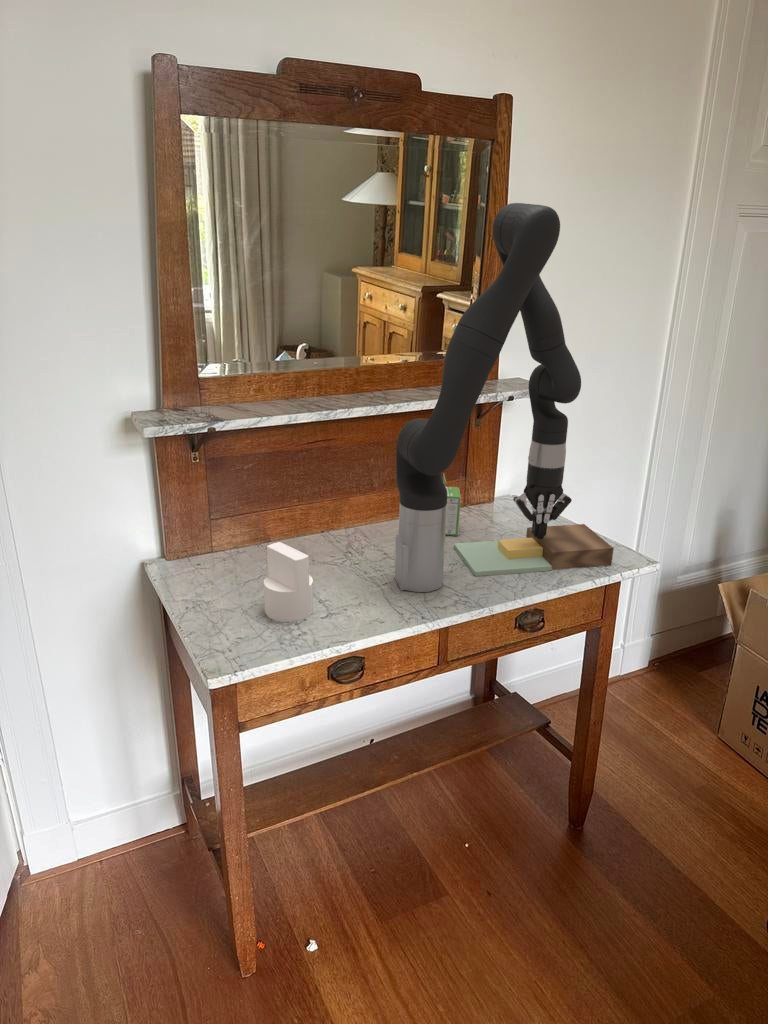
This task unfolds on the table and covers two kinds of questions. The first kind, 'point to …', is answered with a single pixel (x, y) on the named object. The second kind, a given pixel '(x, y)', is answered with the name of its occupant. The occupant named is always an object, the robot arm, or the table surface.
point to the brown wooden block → (573, 547)
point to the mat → (496, 560)
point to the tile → (520, 548)
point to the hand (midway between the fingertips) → (538, 537)
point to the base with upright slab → (287, 584)
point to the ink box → (452, 510)
